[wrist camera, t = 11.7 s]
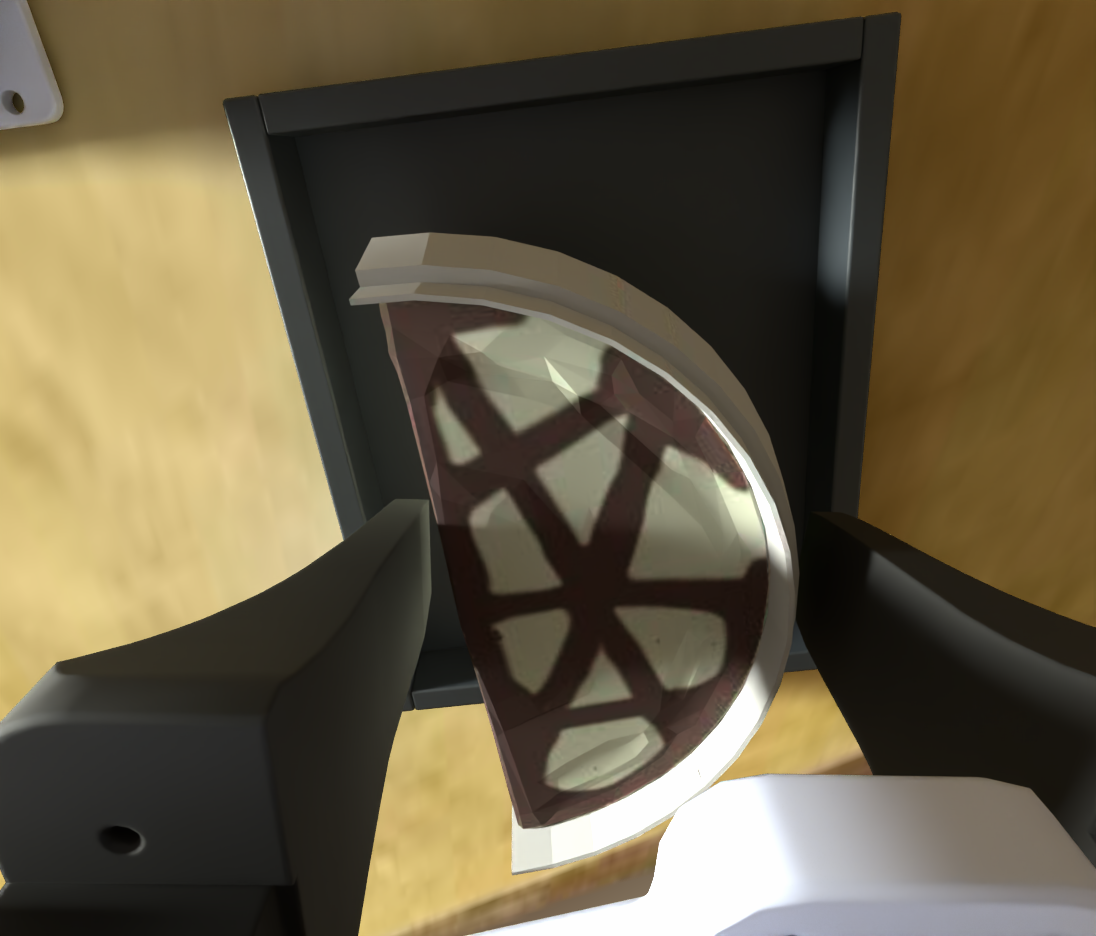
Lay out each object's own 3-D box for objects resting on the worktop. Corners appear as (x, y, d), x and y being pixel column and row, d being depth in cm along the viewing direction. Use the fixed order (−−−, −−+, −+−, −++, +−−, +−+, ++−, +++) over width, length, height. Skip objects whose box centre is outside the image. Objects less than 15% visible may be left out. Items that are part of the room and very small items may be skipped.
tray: (404, 659, 24) (390, 713, 22) (263, 106, 17) (219, 98, 15) (814, 616, 24) (845, 667, 22) (851, 30, 17) (903, 10, 14)
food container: (708, 568, 22) (829, 853, 13) (523, 596, 23) (517, 893, 14) (677, 160, 17) (839, 168, 8) (437, 203, 18) (336, 256, 8)
